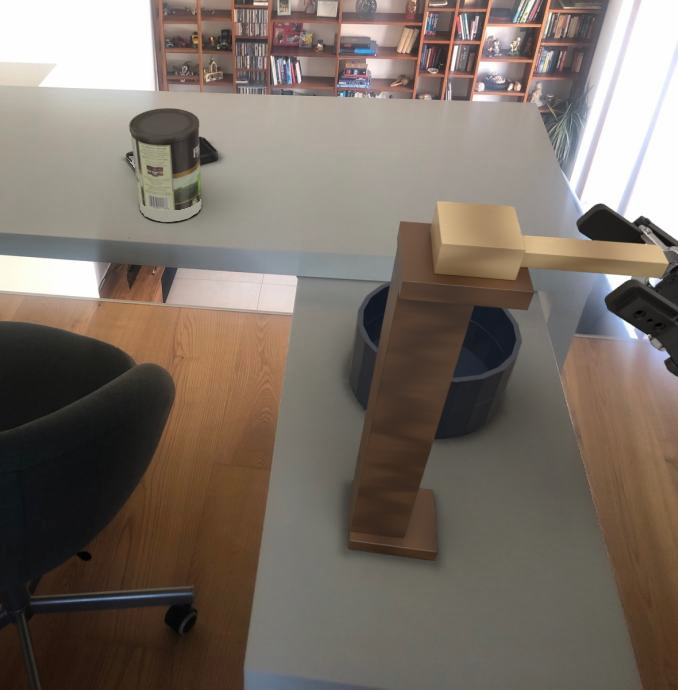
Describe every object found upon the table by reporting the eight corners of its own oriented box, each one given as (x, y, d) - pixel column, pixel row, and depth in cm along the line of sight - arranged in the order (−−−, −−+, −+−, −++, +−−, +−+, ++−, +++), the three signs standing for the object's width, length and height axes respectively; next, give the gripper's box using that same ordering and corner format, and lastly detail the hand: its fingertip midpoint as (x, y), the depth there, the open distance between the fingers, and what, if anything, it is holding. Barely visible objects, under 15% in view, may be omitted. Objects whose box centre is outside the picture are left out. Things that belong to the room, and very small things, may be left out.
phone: (219, 153, 121) (138, 172, 117) (220, 159, 122) (139, 178, 117) (202, 135, 126) (123, 152, 122) (202, 141, 127) (124, 158, 123)
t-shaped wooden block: (434, 274, 44) (441, 242, 43) (430, 230, 48) (436, 200, 46) (668, 293, 42) (685, 261, 41) (645, 247, 46) (660, 216, 44)
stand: (430, 498, 70) (518, 229, 48) (434, 561, 65) (534, 292, 43) (350, 488, 71) (400, 220, 49) (348, 549, 66) (402, 280, 44)
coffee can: (198, 186, 115) (195, 104, 106) (206, 220, 108) (203, 135, 98) (136, 192, 114) (127, 110, 105) (140, 226, 107) (130, 141, 97)
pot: (490, 340, 87) (509, 283, 80) (509, 447, 74) (533, 389, 68) (351, 327, 89) (359, 270, 83) (346, 428, 76) (356, 371, 70)
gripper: (786, 268, 50) (623, 153, 47) (890, 414, 40) (691, 280, 36) (691, 330, 55) (536, 230, 52) (761, 473, 45) (575, 361, 41)
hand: (601, 251), depth 44 cm, fingers open, 8 cm apart
